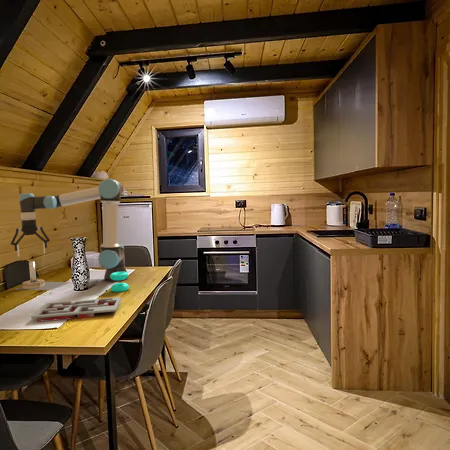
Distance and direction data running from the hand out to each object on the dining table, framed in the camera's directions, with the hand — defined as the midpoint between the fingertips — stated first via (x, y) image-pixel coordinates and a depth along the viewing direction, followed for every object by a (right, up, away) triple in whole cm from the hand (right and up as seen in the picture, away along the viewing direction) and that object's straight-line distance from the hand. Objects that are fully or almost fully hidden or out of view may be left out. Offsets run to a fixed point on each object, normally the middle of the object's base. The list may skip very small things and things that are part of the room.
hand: (31, 254), depth 204 cm
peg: (0, -19, +1) cm, 19 cm away
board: (+6, -21, +3) cm, 21 cm away
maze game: (+49, -23, -45) cm, 70 cm away
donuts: (+56, -20, -8) cm, 60 cm away
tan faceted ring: (0, -19, +1) cm, 19 cm away
